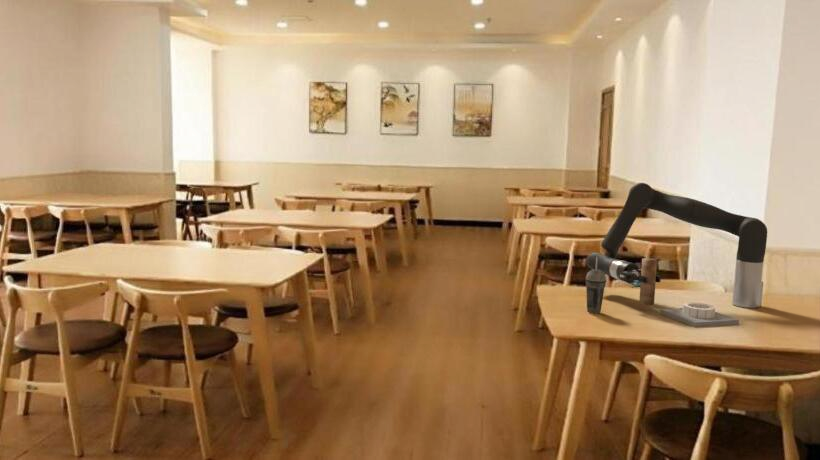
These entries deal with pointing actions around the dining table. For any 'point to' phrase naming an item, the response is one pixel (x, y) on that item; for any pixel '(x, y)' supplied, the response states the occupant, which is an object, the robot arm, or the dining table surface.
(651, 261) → the cylinder
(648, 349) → the dining table surface
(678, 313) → the socket plate
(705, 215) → the robot arm
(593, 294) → the beverage cup
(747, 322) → the dining table surface
